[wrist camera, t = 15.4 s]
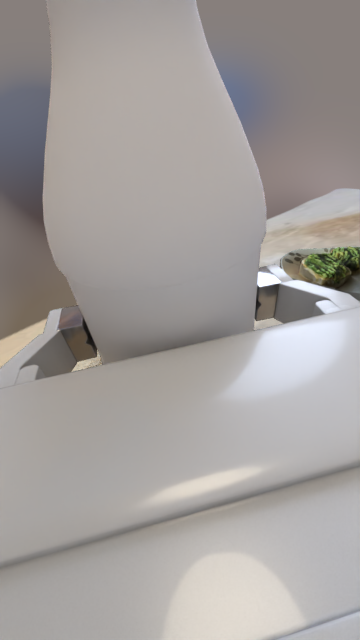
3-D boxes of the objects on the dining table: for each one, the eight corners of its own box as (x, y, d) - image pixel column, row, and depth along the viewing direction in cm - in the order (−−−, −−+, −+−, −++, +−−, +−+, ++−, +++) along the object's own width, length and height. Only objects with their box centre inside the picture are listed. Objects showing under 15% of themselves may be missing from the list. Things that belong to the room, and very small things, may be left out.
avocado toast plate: (268, 320, 35) (273, 291, 32) (259, 257, 49) (261, 232, 46) (438, 323, 32) (460, 291, 29) (377, 254, 45) (388, 227, 42)
